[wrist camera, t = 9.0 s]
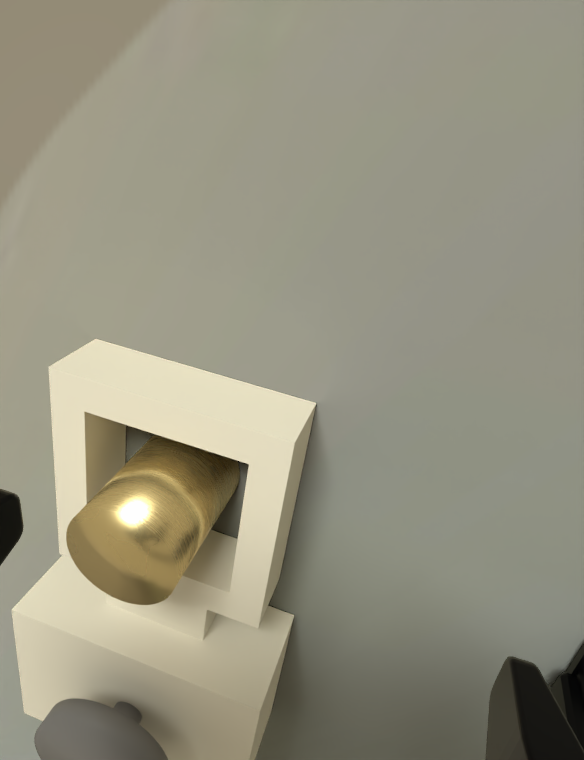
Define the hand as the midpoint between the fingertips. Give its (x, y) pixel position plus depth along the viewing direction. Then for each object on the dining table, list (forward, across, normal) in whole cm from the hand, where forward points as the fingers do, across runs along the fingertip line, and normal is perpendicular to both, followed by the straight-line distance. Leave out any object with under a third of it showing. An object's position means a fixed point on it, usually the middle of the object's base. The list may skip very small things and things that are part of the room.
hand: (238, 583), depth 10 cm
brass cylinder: (+12, +6, +8) cm, 15 cm away
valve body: (+12, +6, +13) cm, 19 cm away
